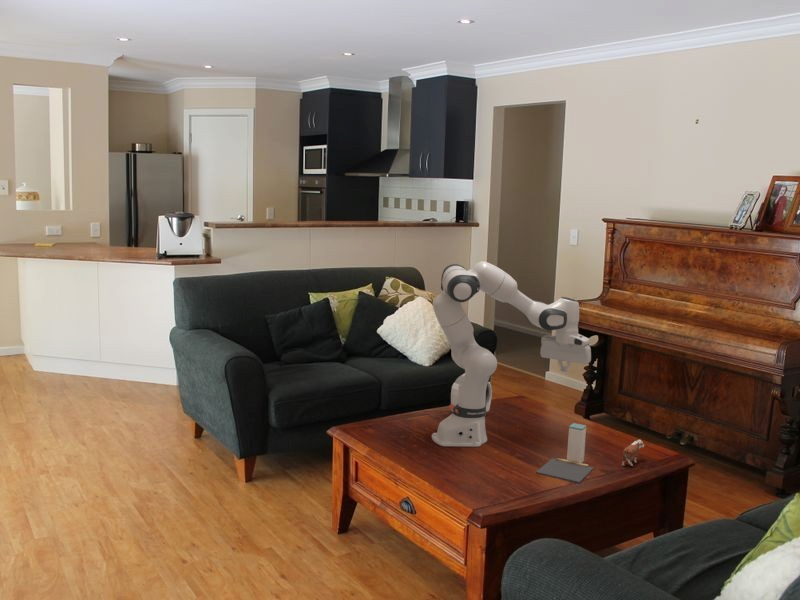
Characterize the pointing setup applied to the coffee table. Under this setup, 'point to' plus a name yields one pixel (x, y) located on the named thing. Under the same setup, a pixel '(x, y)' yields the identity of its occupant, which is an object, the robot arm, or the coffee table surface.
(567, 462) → the oak stop strip
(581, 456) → the cream block
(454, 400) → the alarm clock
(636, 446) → the bull figurine
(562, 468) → the charcoal rubber mat
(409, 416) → the coffee table surface
